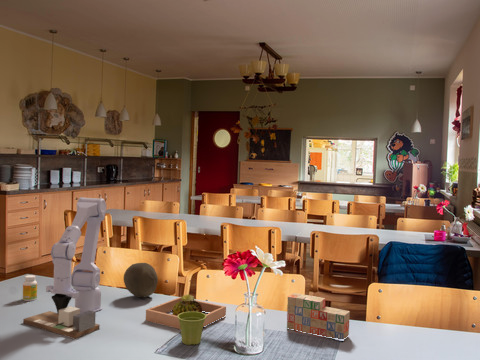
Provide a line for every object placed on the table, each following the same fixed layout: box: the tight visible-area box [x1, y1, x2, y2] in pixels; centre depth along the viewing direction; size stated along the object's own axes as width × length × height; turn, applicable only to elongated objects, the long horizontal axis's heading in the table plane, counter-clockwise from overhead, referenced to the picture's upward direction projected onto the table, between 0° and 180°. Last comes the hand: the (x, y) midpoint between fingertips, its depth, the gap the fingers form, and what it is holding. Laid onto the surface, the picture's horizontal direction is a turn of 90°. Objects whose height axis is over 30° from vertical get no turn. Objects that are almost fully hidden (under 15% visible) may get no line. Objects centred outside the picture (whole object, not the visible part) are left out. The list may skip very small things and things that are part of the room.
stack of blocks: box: [286, 292, 351, 339], centre depth 167 cm, size 21×6×12 cm, turn 59°
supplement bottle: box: [22, 274, 38, 302], centre depth 195 cm, size 5×5×10 cm
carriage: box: [56, 305, 80, 326], centre depth 162 cm, size 8×5×5 cm, turn 150°
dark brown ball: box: [123, 262, 159, 298], centre depth 203 cm, size 14×14×15 cm
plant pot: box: [178, 312, 206, 346], centre depth 154 cm, size 9×9×9 cm
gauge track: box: [22, 310, 100, 339], centre depth 165 cm, size 11×26×6 cm, turn 60°
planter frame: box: [145, 296, 227, 330], centre depth 178 cm, size 21×22×4 cm
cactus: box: [170, 294, 202, 316], centre depth 176 cm, size 17×16×10 cm
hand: (61, 315), depth 165 cm, fingers closed
